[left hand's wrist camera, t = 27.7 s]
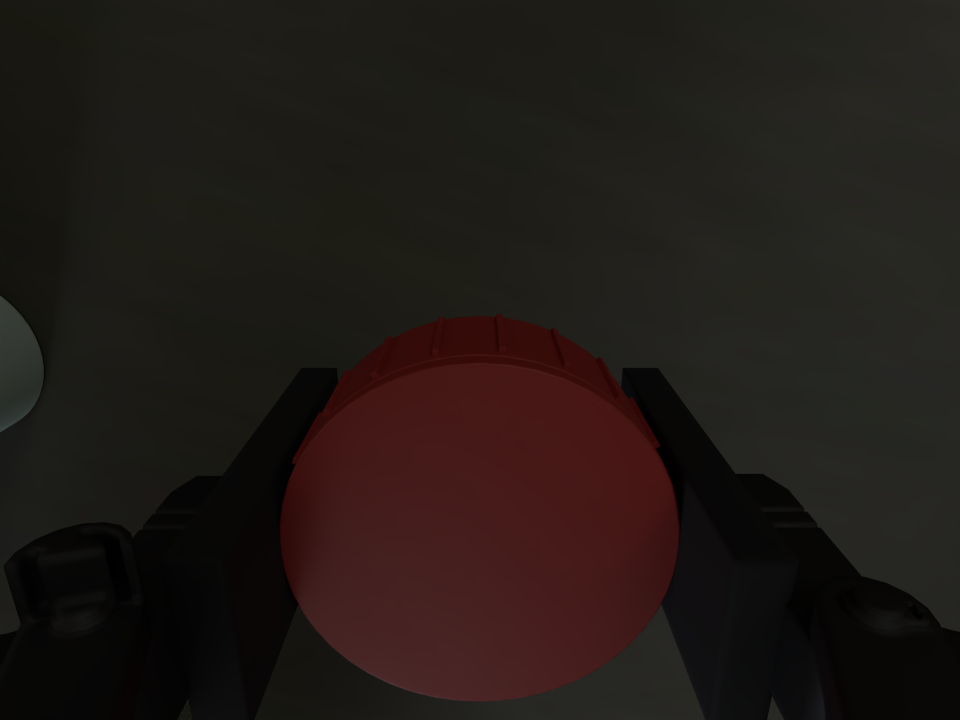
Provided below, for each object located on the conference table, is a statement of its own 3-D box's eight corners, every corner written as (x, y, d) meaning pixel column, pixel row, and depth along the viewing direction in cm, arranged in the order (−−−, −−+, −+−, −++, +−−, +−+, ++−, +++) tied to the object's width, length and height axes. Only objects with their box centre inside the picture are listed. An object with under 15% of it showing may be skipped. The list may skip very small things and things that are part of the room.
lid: (585, 633, 13) (606, 734, 11) (288, 569, 13) (247, 662, 11) (696, 362, 11) (749, 420, 9) (348, 271, 11) (314, 309, 9)
